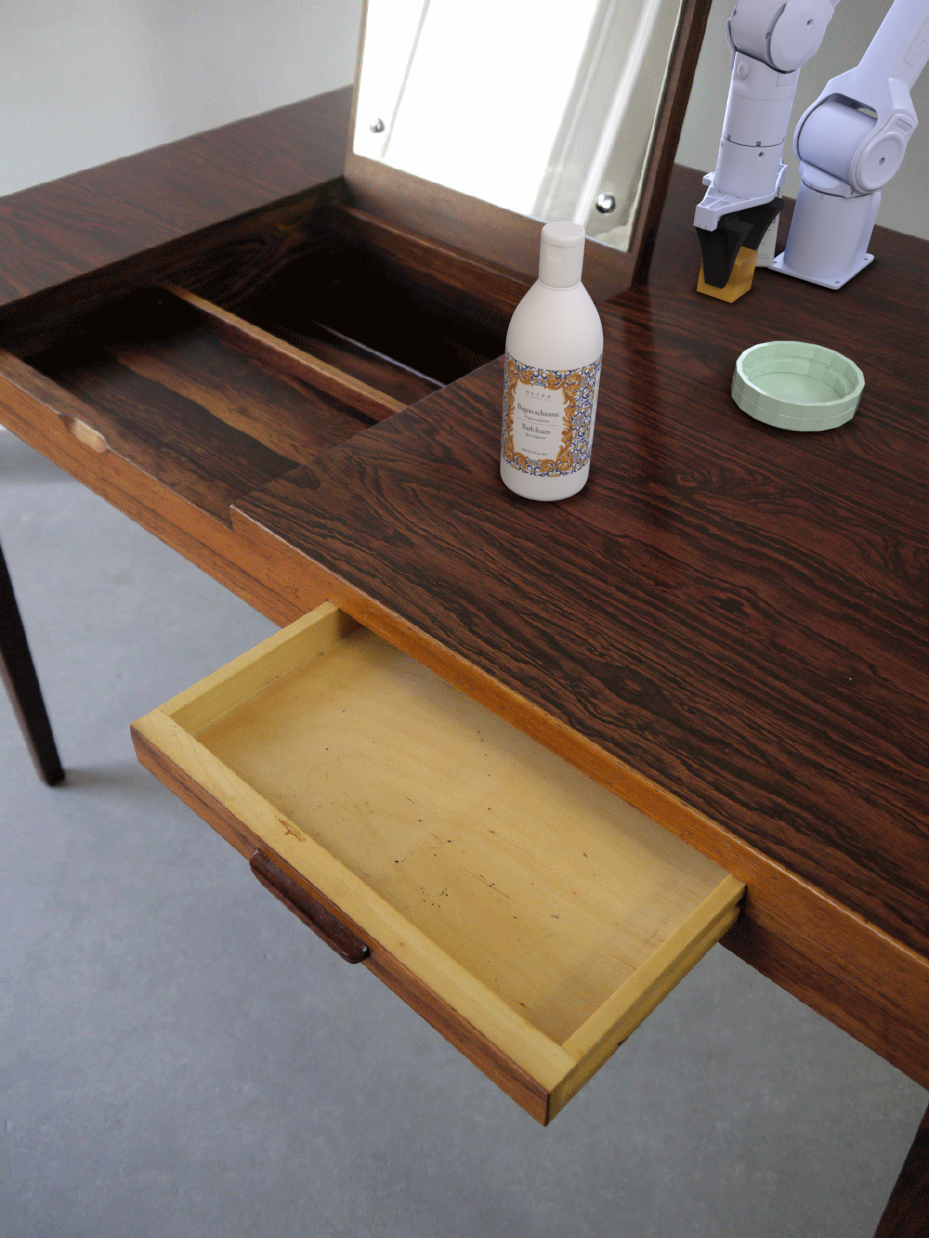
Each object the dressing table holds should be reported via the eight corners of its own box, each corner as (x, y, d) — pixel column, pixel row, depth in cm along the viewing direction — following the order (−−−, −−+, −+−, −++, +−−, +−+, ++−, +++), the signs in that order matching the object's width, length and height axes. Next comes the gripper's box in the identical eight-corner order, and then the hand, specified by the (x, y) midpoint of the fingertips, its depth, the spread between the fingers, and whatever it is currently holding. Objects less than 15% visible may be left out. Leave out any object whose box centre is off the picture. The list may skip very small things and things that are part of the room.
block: (715, 277, 109) (722, 240, 106) (750, 289, 107) (758, 251, 104) (696, 291, 107) (702, 253, 104) (731, 303, 105) (739, 265, 102)
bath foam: (486, 492, 82) (495, 241, 68) (516, 445, 86) (530, 201, 73) (572, 513, 80) (599, 259, 66) (598, 464, 85) (628, 218, 71)
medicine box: (772, 269, 110) (785, 185, 104) (728, 267, 111) (738, 183, 105) (773, 238, 116) (785, 156, 110) (731, 236, 116) (741, 155, 111)
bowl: (764, 358, 97) (771, 328, 95) (875, 398, 92) (885, 368, 90) (707, 405, 91) (713, 375, 89) (822, 451, 86) (832, 420, 84)
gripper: (751, 106, 103) (726, 242, 112) (674, 147, 94) (654, 290, 104) (819, 123, 99) (786, 261, 109) (745, 167, 91) (717, 312, 101)
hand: (726, 277), depth 106 cm, fingers closed on block, 4 cm apart
